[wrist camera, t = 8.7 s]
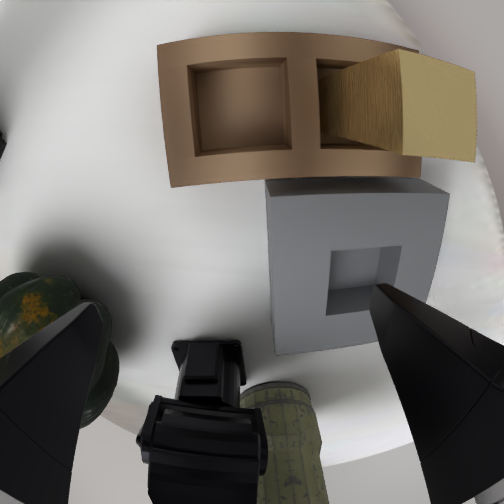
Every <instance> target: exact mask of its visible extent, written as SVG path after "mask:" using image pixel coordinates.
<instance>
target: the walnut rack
mask: <svg viewBox="0 0 504 504" xmlns="http://www.w3.org/2000/svg"><path fill="white" fill-rule="evenodd" d="M397 49H401V50H406V51H410V52H414V53H418V54H419V51H418V50H414V49H410V48H406V47H402V46H398V45H393V44H389V43H384V42H379V41H373V40H367V39H361V38H354V37H347V36H339V35H329V34H317V33H298V32H256V33H238V34H226V35H216V36H207V37H200V38H193V39H187V40H181V41H175V42H170V43H165V44H160V45H157V58H158V75H159V88H160V100H161V111H162V121H163V130H164V139H165V147H166V155H167V163H168V170H169V178H170V184H171V188H174V187H182V186H191V185H200V184H210V183H221V182H232V181H245V180H259V179H276V178H296V177H328V176H389V177H419V178H420V173H421V159H422V156H409V155H401V154H398V153H395V152H392V151H388V150H385V149H382V148H379V147H375V146H372V145H369V144H365V143H361V142H358V141H354V140H350V139H347V138H343V137H339V136H335V135H330V134H326V133H322V132H320V118H319V96H318V80H319V79H321V78H323V77H326V76H328V75H330V74H332V73H335V72H337V71H340V70H342V69H344V68H347V67H349V66H352V65H355V64H357V63H360V62H362V61H365V60H368V59H370V58H373V57H376V56H379V55H382V54H385V53H388V52H391V51H394V50H397Z"/></svg>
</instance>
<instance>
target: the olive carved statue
mask: <svg viewBox="0 0 504 504" xmlns="http://www.w3.org/2000/svg"><path fill="white" fill-rule="evenodd" d="M310 400H311V399H310V395H309V393H308V391H307V390H306V389H305V388H303V387H302V386H300V385H296V384H292V383H281V382H277V383H268V384H263V385H259V386H256V387H253V388H251V389H249V390H247V391H245V392H244V393H242V394H241V395H240V407H241V408H254V407H256V408H261V412H262V417H263V422H264V427H265V432H266V436H267V442H268V463H267V469H266V472H265V474H264V475H263V476H259V481H258V491H257V504H329V501H328V495H327V490H326V485H325V480H324V476H323V471H322V466H321V461H320V456H319V455H320V450H321V445H322V440H321V436H320V431H319V427H318V423H317V418H316V414H315V412H314V410H313V408H312V406H311V402H310Z"/></svg>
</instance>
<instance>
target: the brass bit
mask: <svg viewBox="0 0 504 504" xmlns="http://www.w3.org/2000/svg"><path fill="white" fill-rule="evenodd" d="M318 96H319V118H320V132H322V133H326V134H330V135H335V136H339V137H343V138H347V139H350V140H354V141H358V142H361V143H365V144H369V145H372V146H375V147H379V148H382V149H385V150H388V151H392V152H395V153H398V154H401V155H409V156H422V157H433V158H443V159H452V160H460V161H468V162H475V156H476V136H477V134H476V133H477V106H476V105H477V104H476V103H477V102H476V85H475V73H474V72H473V71H470V70H468V69H465V68H462V67H460V66H457V65H454V64H451V63H448V62H445V61H442V60H439V59H435V58H432V57H429V56H425V55H421V54H418V53H414V52H410V51H406V50H401V49H397V50H394V51H391V52H388V53H385V54H382V55H379V56H376V57H373V58H370V59H368V60H365V61H362V62H360V63H357V64H355V65H352V66H349V67H347V68H344V69H342V70H340V71H337V72H335V73H332V74H330V75H328V76H326V77H323V78H321V79H319V80H318Z"/></svg>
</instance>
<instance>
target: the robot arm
mask: <svg viewBox="0 0 504 504" xmlns="http://www.w3.org/2000/svg"><path fill="white" fill-rule="evenodd" d="M369 311H370V315H371V318H372V321H373V325H374V328H375V331H376V335H377V338H378V342H379V345H380V349H381V352H382V354H383V357H384V359H385V362H386V364H387V367H388V370H389V372H390V375H391V377H392V380H393V382H394V385H395V388H396V390H397V393H398V396H399V399H400V401H401V404H402V407H403V410H404V413H405V416H406V419H407V421H408V424H409V427H410V431H411V434H412V437H413V440H414V443H415V446H416V450H417V453H418V456H419V459H420V462H421V467H422V471H423V474H424V478H425V481H426V485H427V489H428V493H429V498H430V502H431V504H462V503H464V502H466V501H468V500H469V499H471V498H473V497H474V498H475V501H476V503H477V504H504V346H503V345H501V344H499V343H497V342H495V341H493V340H491V339H489V338H488V337H486V336H484V335H482V334H480V333H478V332H477V331H475V330H473V329H471V328H470V329H469V327H468V326H466V325H464V324H462V323H461V322H459V321H457V320H455V319H453V318H451V317H450V316H448V315H446V314H444V313H442V312H440V311H439V310H437V309H435V308H433V307H431V306H429V305H427V304H426V303H424V302H422V301H420V300H418V299H416V298H414V297H412V296H411V295H409V294H407V293H405V292H403V291H401V290H399V289H397V288H395V287H393V286H391V285H389V284H388V283H380V284H375V285H374V286H373V289H372V295H371V300H370V305H369ZM103 328H104V325H103V321H102V318H101V316H100V314H99V311H98V309H97V307H96V305H95V304H94V303H82V304H80V305H79V306H77V307H76V308H74V309H73V310H71V311H69V312H68V313H66V314H65V315H63V316H62V317H60V318H59V319H57V320H56V321H54V322H52V323H51V324H49V325H48V326H46V327H45V328H43V329H42V330H40V331H39V332H37V333H36V334H34V335H33V336H32V337H30V338H29V339H27V340H26V341H24V342H23V343H21V344H20V345H18V346H17V347H15V348H14V349H13V350H11V351H10V352H8V353H7V354H5V355H4V356H3V357H1V358H0V504H68V498H69V490H70V482H71V475H72V472H71V471H72V467H73V461H74V455H75V449H76V444H77V439H78V434H79V429H80V425H81V420H82V416H83V412H84V408H85V404H86V400H87V396H88V392H89V388H90V384H91V381H92V377H93V374H94V370H95V366H96V362H97V357H98V352H99V347H100V342H101V338H102V333H103ZM234 345H237V346H234ZM176 347H178V348H176ZM171 349H172V352H173V355H174V358H175V360H176V363H177V366H178V369H179V371H180V372H179V377H178V383H177V388H176V394H175V399H170V398H164V397H162V396H159V395H156V396H155V398H154V401H153V402H151V404H150V405H149V409H148V414H147V417H146V419H145V422H144V424H143V426H142V428H141V430H140V432H139V433H138V435H137V438H136V443H137V444H138V445H139V447H140V448H141V455H142V461H143V463H146V464H149V468H148V495H149V497H150V499H151V501H152V503H153V504H257V491H258V481H259V476H263V475H264V474H265V472H266V469H267V463H268V442H267V436H266V432H265V427H264V422H263V417H262V412H261V408H256V407H254V408H241V407H240V386H244V385H246V373H245V366H244V359H243V351H242V344H241V342H240V341H238V340H230V341H206V342H174V343H173V344H172V346H171Z"/></svg>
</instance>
